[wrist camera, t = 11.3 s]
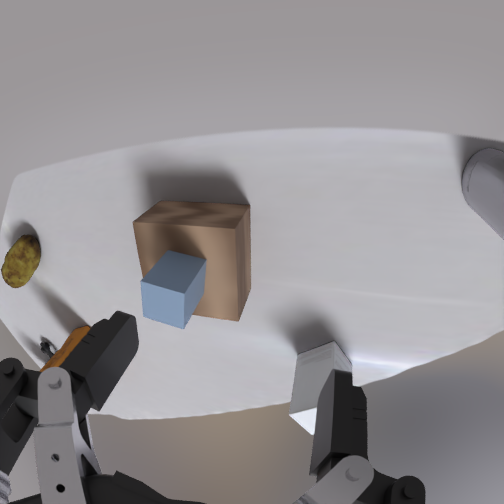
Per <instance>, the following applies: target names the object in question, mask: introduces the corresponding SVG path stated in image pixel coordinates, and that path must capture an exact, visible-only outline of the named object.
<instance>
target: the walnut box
mask: <svg viewBox="0 0 504 504" xmlns="http://www.w3.org/2000/svg"><path fill="white" fill-rule="evenodd" d="M133 227H134V233H135V239H136V244H137V250H138V255H139V260H140V265H141V270H142V275H143V278H144V277H145V275H146V274H147V273H148V272H149V271H150V270H151V269H152V267H153V266H154V265H155V264H156V263H157V262H158V261H159V259H160V258H161V257H162V256H163V255H164V254H165V253H166V252H167V251H168V250H170V251H174V252H178V253H182V254H186V255H190V256H194V257H198V258H202V259H206V260H207V262H206V274H205V286H204V294H203V296H202V298H201V299H200V301H199V303H198V305H197V307H196V308H195V310H194V312H193V314H192V315H198V316H204V317H211V318H217V319H224V320H231V321H239V319H240V317H241V314H242V311H243V309H244V306H245V303H246V301H247V298H248V295H249V292H250V290H251V239H250V205H242V204H224V203H203V202H179V201H160V202H158V203H157V204H156V205H154V206H153V207H152V208H150V209H149V210H148V211H146V212H145V213H144V214H142V215H141V216H140V217H139V218H137V219H136V220H135V221H133Z"/></svg>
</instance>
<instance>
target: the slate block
mask: <svg viewBox="0 0 504 504" xmlns="http://www.w3.org/2000/svg"><path fill="white" fill-rule="evenodd" d="M206 262H207V260H206V259H202V258H198V257H194V256H190V255H186V254H182V253H178V252H174V251H170V250H168V251H167V252H166V253H165V254H164V255H163V256H162V257H161V258H160V259H159V261H158V262H157V263H156V264H155V265H154V266H153V267H152V269H151V270H150V271H149V272H148V273H147V274H146V275H145V277H144V278H143V279H142V280H141V294H142V307H143V317H146V318H149V319H152V320H155V321H159V322H162V323H165V324H168V325H171V326H174V327H178V328H181V329H184V328H185V326H186V324H187V323H188V321H189V319H190V317H191V315H192V314H193V312H194V310H195V308H196V307H197V305H198V303H199V301H200V299H201V298H202V296H203V294H204V286H205V274H206Z"/></svg>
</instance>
